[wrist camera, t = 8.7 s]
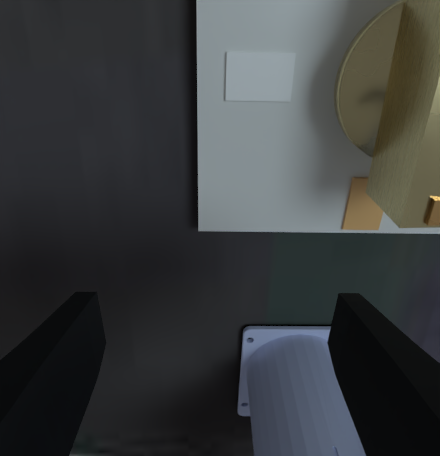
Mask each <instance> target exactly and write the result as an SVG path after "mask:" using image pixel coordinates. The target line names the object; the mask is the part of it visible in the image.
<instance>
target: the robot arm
mask: <svg viewBox="0 0 440 456" xmlns="http://www.w3.org/2000/svg"><path fill="white" fill-rule="evenodd" d="M248 338H251V339H248ZM105 345H106V339H105V334H104V329H103V323H102V318H101V312H100V307H99V302H98V296H97V292H75V293H74V294H73V295H72V296H71V297H70V298H69V299H68V300H67V301H66V302H65V303H63V304H62V305H61V306H60V307H59V308H58V309H57V310H56V311H55V312H54V313H53V314H52V315H51V316H50V317H49V318H48V319H46V320H45V321H44V322H43V323H42V324H41V325H40V326H39V327H38V328H37V329H36V330H35V331H33V332H32V333H31V334H30V335H29V336H28V337H27V338H26V339H25V340H23V341H22V342H21V343H20V344H19V345H18V346H17V347H16V348H14V349H13V350H12V351H11V352H10V353H8V354H7V355H6V356H5V357H4V358H2V359H1V360H0V456H69V454H70V451H71V449H72V446H73V443H74V440H75V438H76V435H77V432H78V430H79V427H80V424H81V421H82V419H83V416H84V413H85V411H86V408H87V405H88V403H89V400H90V397H91V394H92V392H93V389H94V386H95V383H96V380H97V378H98V375H99V371H100V366H101V362H102V358H103V354H104V349H105ZM237 409H238V414H239V415H241V416H250V417H251V428H252V438H253V448H254V456H440V363H439V362H437V361H436V360H435V359H433V358H432V357H431V356H430V355H429V354H427V353H426V352H425V351H424V350H423V349H421V348H420V347H419V346H418V345H417V344H415V343H414V342H413V341H412V340H411V339H410V338H408V337H407V336H406V335H405V334H404V333H403V332H402V331H400V330H399V329H398V328H397V327H396V326H395V325H394V324H393V323H392V322H390V321H389V320H388V319H387V318H386V317H385V316H384V315H383V314H382V313H380V312H379V311H378V310H377V309H376V308H375V307H374V306H373V305H372V304H371V303H369V302H368V301H367V300H366V299H365V298H364V297H363V296H361V295H360V294H359V293H339V294H338V299H337V303H336V307H335V312H334V316H333V320H332V325H331V326H248V327H246V328H244V330H243V338H242V352H241V366H240V380H239V394H238V408H237Z"/></svg>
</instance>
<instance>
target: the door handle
mask: <svg viewBox="0 0 440 456" xmlns="http://www.w3.org/2000/svg"><path fill="white" fill-rule="evenodd" d="M334 107H335V112H336V116H337V119H338V122H339V125H340V127H341V129H342V131H343V132H344V134H345V135H346V137H347V138H348V139H349V140H350V141H351V142H352V143H353V144H354V145H355V146H356V147H357V148H359V149H360V150H361V151H363V152H364V153H365V154H367V155H368V156H370V157H372V162H371V167H370V172H369V177H368V182H367V187H366V192H365V193H366V194H367V195H368V196H369V197H370V198H371V199H372V200H373V201H374V202H375V203H376V204H377V205H378V206H379V207H380V208H381V209H382V210H383V211H384V212H385V214H386V215H387V216H388V217H389V218H390V219H391V220H392V221H393V222H394V223H395V224H396V225H397V226H398V227H399V228H440V0H399V1H397V2H395V3H393V4H391V5H390V6H388V7H386V8H385V9H383V10H382V11H380V12H379V13H377V14H376V15H375V16H374V17H373V18H372V19H370V20H369V21H368V22H367V23H366V24H365V25H364V26H363V28H362V29H361V30H360V31H359V32H358V33H357V35H356V36H355V37H354V39H353V40H352V41H351V43H350V45H349V46H348V48H347V50H346V52H345V54H344V56H343V58H342V60H341V63H340V65H339V69H338V72H337V75H336V80H335V86H334Z"/></svg>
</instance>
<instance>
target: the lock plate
mask: <svg viewBox="0 0 440 456" xmlns="http://www.w3.org/2000/svg"><path fill="white" fill-rule="evenodd" d="M397 1H399V0H196V5H197V121H198V231H236V232H329V233H423V234H440V228H399V227H398V226H397V225H396V224H395V223H394V222H393V221H392V220H391V219H390V218H389V217H388V216H387V215H386V214H385V212H384V211H383V210H382V209H381V208H380V207H379V206H378V205H377V204H376V203H375V202H374V201H373V200H372V199H371V198H370V197H369V196H368V195H367V194H366V193H365V192H366V187H367V182H368V177H369V172H370V167H371V162H372V157H370V156H368V155H367V154H365V153H364V152H363V151H361V150H360V149H359V148H357V147H356V146H355V145H354V144H353V143H352V142H351V141H350V140H349V139H348V138H347V137H346V135H345V134H344V132H343V131H342V129H341V127H340V125H339V122H338V119H337V116H336V112H335V107H334V86H335V80H336V75H337V72H338V69H339V65H340V63H341V60H342V58H343V56H344V54H345V52H346V50H347V48H348V46H349V45H350V43H351V41H352V40H353V39H354V37H355V36H356V35H357V33H358V32H359V31H360V30H361V29H362V28H363V26H364V25H365V24H366V23H367V22H368V21H369V20H370V19H372V18H373V17H374V16H375V15H376V14H377V13H379V12H380V11H382V10H383V9H385V8H386V7H388V6H390V5H391V4H393V3H395V2H397Z"/></svg>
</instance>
